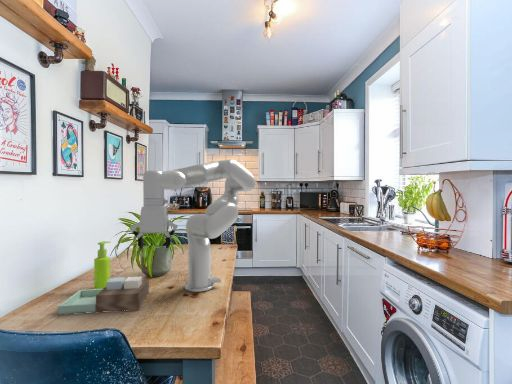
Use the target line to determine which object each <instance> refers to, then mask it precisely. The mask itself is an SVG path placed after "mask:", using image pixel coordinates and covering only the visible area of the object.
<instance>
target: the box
mask: <svg viewBox="0 0 512 384" xmlns="http://www.w3.org/2000/svg"><path fill="white" fill-rule="evenodd" d="M102 290H103V289H94V288H93V289H92V288H91V289H79V290H78V291H76V292H75V293H74V294H72V295H71V296H70V297H69V298H67V299H66V300H64V301H63V302H62V303H61V304H59V305H58V306H57V316H62V315H61V314H69V315H75V314H74V313H86V312H96V295H97V294H98V293H99V292H100V291H102ZM86 314H87V313H86Z"/></svg>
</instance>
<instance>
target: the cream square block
mask: <svg viewBox="0 0 512 384" xmlns="http://www.w3.org/2000/svg"><path fill="white" fill-rule="evenodd" d="M142 277H143V276H128V277H127V278H125V281H124V289H131V288H139V287H140V285H141V284H142V279H143V278H142Z"/></svg>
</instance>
